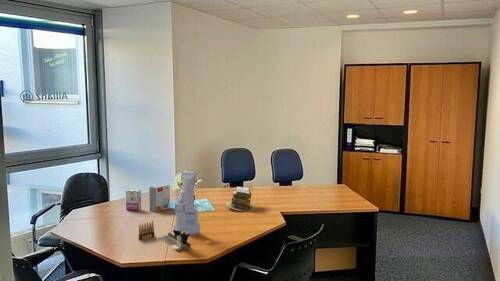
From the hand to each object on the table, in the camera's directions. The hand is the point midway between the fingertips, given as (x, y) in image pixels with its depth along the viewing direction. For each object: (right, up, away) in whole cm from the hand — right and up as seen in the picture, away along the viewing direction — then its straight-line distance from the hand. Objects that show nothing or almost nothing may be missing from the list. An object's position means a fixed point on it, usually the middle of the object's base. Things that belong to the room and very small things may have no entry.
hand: (181, 242), depth 256 cm
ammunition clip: (-25, -2, +12) cm, 28 cm away
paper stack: (+35, +7, +87) cm, 94 cm away
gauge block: (0, -2, 0) cm, 2 cm away
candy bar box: (-52, +7, +79) cm, 95 cm away
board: (-6, -3, +6) cm, 9 cm away
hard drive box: (-31, +7, +81) cm, 87 cm away
